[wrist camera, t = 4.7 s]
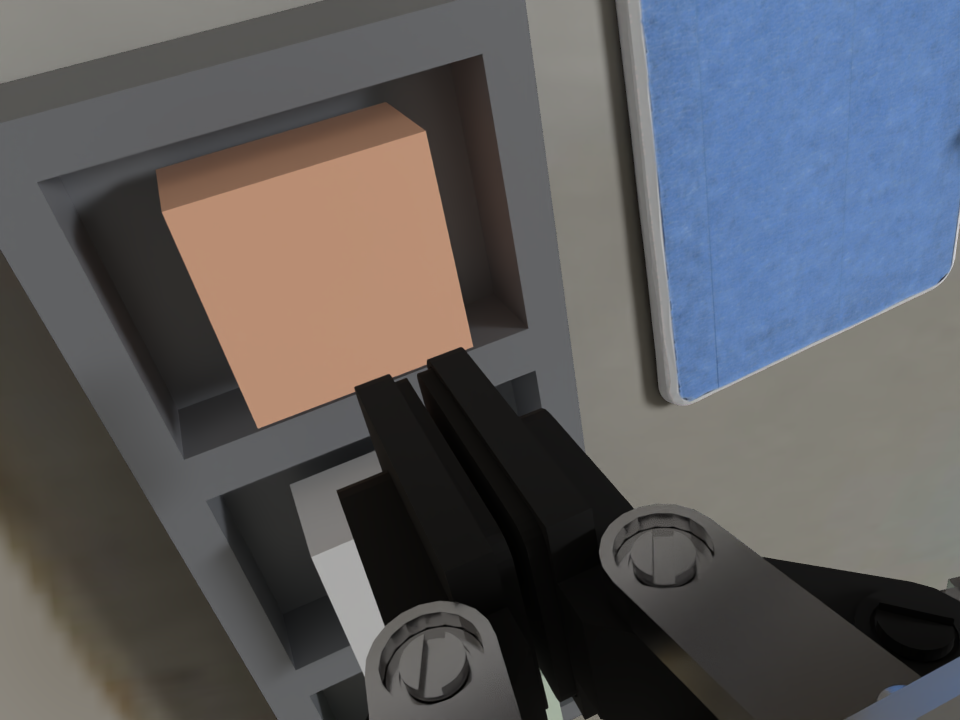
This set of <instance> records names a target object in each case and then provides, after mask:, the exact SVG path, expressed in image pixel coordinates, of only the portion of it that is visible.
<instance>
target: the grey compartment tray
mask: <svg viewBox="0 0 960 720" xmlns="http://www.w3.org/2000/svg"><path fill="white" fill-rule="evenodd" d="M384 102H387V103H388V104H390V105H391V106H392V107H394V108H395V109H396V110H398V111H399V112H401V113H402V114H403V115H405V116H406V117H407V118H409V119H410V120H412V121H413V122H414V123H416V124H417V125H418V126H420V127H421V128H423V129H424V130H425V131H426V134H427V139H428V143H429V148H430V152H431V157H432V161H433V166H434V171H435V175H436V180H437V184H438V189H439V193H440V198H441V202H442V207H443V211H444V216H445V221H446V225H447V230H448V234H449V239H450V243H451V248H452V252H453V257H454V261H455V266H456V271H457V275H458V280H459V284H460V289H461V293H462V298H463V302H464V307H465V311H466V316H467V321H468V325H469V330H470V334H471V339H472V343H473V347H471V348H469V349H466V352H467V353H468V354H469V355H470V357H471V358H472V359H473V360H474V362H475V363H476V364H477V365H478V367H479V368H480V369H481V370H482V372H483V373H484V374H485V375H486V377H487V378H488V379H489V380H490V382H491V383H492V384H493V385H494V387H495V388H496V389H497V390H498V392H499V393H500V394H501V395H502V396H503V398H504V399H505V400H506V401H507V403H508V404H509V405H510V406H511V408H512V409H513V410H514V411H515V413H516V414H517V415H518V416H519V417H520V416H522V415H525V414H527V413H530V412H532V411H535V410H537V409H540V408H543V409H546V410H547V411H548V412H549V413H550V414H551V415H552V416H553V417H554V418H555V419H556V420H557V421H558V423H559V424H560V425H561V426H562V427H563V428H564V429H565V431H566V432H567V433H568V434H569V435H570V436H571V437H572V439H573V440H574V441H575V442H576V443H577V444H578V445H579V447H580V448H581V449H582V450H583V451H584V452H585V447H584V440H583V432H582V425H581V417H580V409H579V402H578V394H577V387H576V379H575V372H574V364H573V357H572V349H571V342H570V334H569V327H568V319H567V312H566V304H565V296H564V289H563V281H562V274H561V266H560V259H559V251H558V244H557V236H556V229H555V221H554V214H553V206H552V198H551V191H550V183H549V176H548V168H547V161H546V153H545V146H544V138H543V131H542V123H541V116H540V108H539V100H538V93H537V85H536V78H535V70H534V63H533V55H532V48H531V40H530V33H529V25H528V18H527V10H526V3H525V0H324V1H320V2H316V3H312V4H308V5H304V6H301V7H297V8H293V9H289V10H285V11H281V12H277V13H273V14H270V15H266V16H262V17H258V18H254V19H250V20H246V21H242V22H239V23H235V24H231V25H227V26H223V27H219V28H215V29H211V30H208V31H204V32H200V33H196V34H192V35H188V36H184V37H181V38H177V39H173V40H169V41H165V42H161V43H157V44H153V45H150V46H146V47H142V48H138V49H134V50H130V51H126V52H122V53H119V54H115V55H111V56H107V57H103V58H99V59H95V60H91V61H88V62H84V63H80V64H76V65H72V66H68V67H64V68H60V69H57V70H53V71H49V72H45V73H41V74H37V75H33V76H30V77H26V78H22V79H18V80H14V81H10V82H6V83H2V84H0V250H1V251H2V253H3V255H4V256H5V258H6V260H7V262H8V263H9V265H10V267H11V268H12V270H13V272H14V273H15V275H16V277H17V278H18V280H19V282H20V284H21V285H22V287H23V289H24V290H25V292H26V294H27V295H28V297H29V299H30V301H31V302H32V304H33V306H34V307H35V309H36V311H37V312H38V314H39V316H40V317H41V319H42V321H43V323H44V324H45V326H46V328H47V329H48V331H49V333H50V334H51V336H52V338H53V340H54V341H55V343H56V345H57V346H58V348H59V350H60V351H61V353H62V355H63V356H64V358H65V360H66V362H67V363H68V365H69V367H70V368H71V370H72V372H73V373H74V375H75V377H76V379H77V380H78V382H79V384H80V385H81V387H82V389H83V390H84V392H85V394H86V395H87V397H88V399H89V401H90V402H91V404H92V406H93V407H94V409H95V411H96V412H97V414H98V416H99V418H100V419H101V421H102V423H103V424H104V426H105V428H106V429H107V431H108V433H109V434H110V436H111V438H112V440H113V441H114V443H115V445H116V446H117V448H118V450H119V451H120V453H121V455H122V456H123V458H124V460H125V462H126V463H127V465H128V467H129V468H130V470H131V472H132V473H133V475H134V477H135V479H136V480H137V482H138V484H139V485H140V487H141V489H142V490H143V492H144V494H145V495H146V497H147V499H148V501H149V502H150V504H151V506H152V507H153V509H154V511H155V512H156V514H157V516H158V518H159V519H160V521H161V523H162V524H163V526H164V528H165V529H166V531H167V533H168V534H169V536H170V538H171V540H172V541H173V543H174V545H175V546H176V548H177V550H178V551H179V553H180V555H181V557H182V558H183V560H184V562H185V563H186V565H187V567H188V568H189V570H190V572H191V573H192V575H193V577H194V579H195V580H196V582H197V584H198V585H199V587H200V589H201V590H202V592H203V594H204V596H205V597H206V599H207V601H208V602H209V604H210V606H211V607H212V609H213V611H214V612H215V614H216V616H217V618H218V619H219V621H220V623H221V624H222V626H223V628H224V629H225V631H226V633H227V635H228V636H229V638H230V640H231V641H232V643H233V645H234V646H235V648H236V650H237V651H238V653H239V655H240V657H241V658H242V660H243V662H244V663H245V665H246V667H247V668H248V670H249V672H250V674H251V675H252V677H253V679H254V680H255V682H256V684H257V685H258V687H259V689H260V690H261V692H262V694H263V696H264V697H265V699H266V701H267V702H268V704H269V706H270V707H271V709H272V711H273V712H274V714H275V716H276V718H277V719H278V720H366V718H367V716H368V714H369V711H368V702H367V694H366V685H365V676H364V674H363V672H362V670H361V667H360V665H359V663H358V661H357V659H356V656H355V654H354V652H353V650H352V647H351V645H350V643H349V641H348V638H347V636H346V634H345V632H344V630H343V627H342V625H341V623H340V621H339V618H338V616H337V614H336V612H335V609H334V607H333V605H332V603H331V601H330V598H329V596H328V594H327V592H326V589H325V587H324V585H323V583H322V580H321V578H320V576H319V574H318V572H317V569H316V567H315V565H314V563H313V560H312V558H311V555H310V552H309V549H308V545H307V542H306V538H305V535H304V532H303V528H302V525H301V522H300V518H299V515H298V512H297V508H296V505H295V501H294V498H293V495H292V491H291V488H290V484H293V483H295V482H298V481H300V480H303V479H305V478H308V477H310V476H313V475H315V474H318V473H320V472H323V471H325V470H328V469H330V468H333V467H335V466H338V465H340V464H343V463H345V462H348V461H350V460H353V459H355V458H358V457H360V456H363V455H365V454H368V453H370V452H373V451H375V449H374V446H373V443H372V440H371V437H370V434H369V431H368V428H367V425H366V422H365V420H364V417H363V414H362V411H361V408H360V405H359V402H358V399H357V396H356V393H355V392H353V393H351V394H348V395H345V396H343V397H340V398H337V399H335V400H332V401H330V402H327V403H324V404H322V405H319V406H316V407H314V408H311V409H308V410H306V411H303V412H301V413H298V414H295V415H293V416H290V417H287V418H285V419H282V420H280V421H277V422H274V423H272V424H269V425H266V426H264V427H261V428H259V429H258V428H257V426H256V423H255V421H254V419H253V417H252V414H251V412H250V410H249V408H248V405H247V403H246V401H245V399H244V396H243V394H242V392H241V390H240V387H239V385H238V383H237V381H236V378H235V376H234V374H233V371H232V369H231V367H230V365H229V362H228V360H227V358H226V356H225V353H224V351H223V349H222V347H221V344H220V342H219V340H218V338H217V335H216V333H215V331H214V329H213V326H212V324H211V322H210V320H209V317H208V315H207V313H206V311H205V308H204V306H203V304H202V302H201V299H200V297H199V295H198V293H197V290H196V288H195V286H194V284H193V281H192V279H191V277H190V275H189V272H188V270H187V268H186V266H185V263H184V261H183V259H182V257H181V254H180V252H179V250H178V248H177V245H176V243H175V241H174V239H173V236H172V234H171V232H170V230H169V227H168V225H167V223H166V221H165V218H164V216H163V214H162V211H161V204H160V197H159V190H158V183H157V176H156V169H160V168H163V167H166V166H170V165H173V164H177V163H180V162H183V161H187V160H190V159H194V158H197V157H200V156H204V155H207V154H211V153H214V152H217V151H221V150H224V149H227V148H231V147H234V146H238V145H241V144H244V143H248V142H251V141H255V140H258V139H261V138H265V137H268V136H272V135H275V134H278V133H282V132H285V131H289V130H292V129H295V128H299V127H302V126H306V125H309V124H312V123H316V122H319V121H323V120H326V119H329V118H333V117H336V116H340V115H343V114H346V113H350V112H353V111H357V110H360V109H363V108H367V107H370V106H374V105H377V104H380V103H384ZM426 370H428V368H427V365H424V366H422V367H419V368H416V369H414V370H411V371H408V372H406V373H403V374H401V375H398V376H395V377H393V380H394V382H396V381H399V380H402V379H404V378H407V379H408V380H409V382H410V383H411V385H412V387H413V388H414V390H415V391H416V393H417V395H418V396H419V398H420V400H421V401H422V403H423V404H424V401H423V397H422V394H421V390H420V387H419V383H418V379H417V374H418V373H420V372H423V371H426ZM424 406H425V404H424ZM559 703H560V708H561V712H562V717H563V720H572V719H574V718H576V717H578V716H580V715H582V714H581V712H580V710H579V708H578V707H577V705H576V703H575V701H574V700H573V698H572V697H570V698H568V699H566V700H564V701H562V702H559Z"/></svg>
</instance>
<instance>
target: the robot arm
mask: <svg viewBox="0 0 960 720" xmlns="http://www.w3.org/2000/svg"><path fill="white" fill-rule="evenodd" d="M427 368H428V370H426V371H423V372H420V373H418V374H417V379H418V383H419V387H420V390H421V394H422V397H423V401H424V404H425V406H424V404H423V403H422V401H421V400H420V398H419V396H418V395H417V393H416V391H415V390H414V388H413V387H412V385H411V383H410V382H409V380H408V379H407V378H404V379H402V380H399V381H396V382H394V380H393V378H392V376H391V375H390V374H387V375H384V376H382V377H379V378H376V379H374V380H371V381H368V382H366V383H363V384H360V385H358V386H355V387H354V389H355V393H356V396H357V399H358V402H359V405H360V408H361V411H362V414H363V417H364V420H365V422H366V425H367V428H368V431H369V434H370V437H371V440H372V443H373V446H374V449H375V452H376V455H377V458H378V460H379V463H380V466H381V469H382V472H380V473H378V474H375V475H373V476H370V477H368V478H366V479H363V480H361V481H358V482H356V483H353V484H351V485H348V486H346V487H343V488H341V489H338V490H336V491H337V494H338V497H339V500H340V503H341V506H342V509H343V511H344V514H345V517H346V520H347V523H348V525H349V528H350V531H351V534H352V537H353V539H354V542H355V545H356V548H357V550H358V553H359V556H360V559H361V562H362V564H363V567H364V570H365V573H366V576H367V578H368V581H369V584H370V587H371V590H372V592H373V595H374V598H375V601H376V604H377V606H378V609H379V612H380V615H381V618H382V620H383V623H384V626H385V627H384V628H383V629H382V631H381V632H380V633H379V635H378V636H377V637H376V638H375V640H374V641H373V643H372V646H371V648H370V650H369V653H368V655H367V658H366V665H365V685H366V694H367V702H368V711H369V714H368V716H367V718H366V720H548V718H547V713H546V709H548V708H549V707H548V702H547V697H546V693H545V689H544V685H543V681H542V677H541V673H540V670H541V672H542V674H543V675H544V677H545V679H546V681H547V683H548V684H549V686H550V688H551V690H552V692H553V693H554V695H555V697H556V698H557V700H558V701H559V702H562V701H564V700H566V699H568V698H570V697H572V698H573V700H574V701H575V703H576V705H577V707H578V708H579V710H580V712H581V714H582V715H583V717H584V719H585V720H586V719H588V718H590V717H592V716H594V715H596V714H598V715H599V717H600V719H603V720H960V576H959V577H955V578H951V579H948V584H947V589H945V590H940V591H939V590H937V589H935V588H932V587H928V586H925V585H921V584H917V583H914V582H909V581H903V580H897V579H891V578H885V577H879V576H873V575H867V574H861V573H855V572H849V571H843V570H837V569H831V568H825V567H819V566H813V565H807V564H801V563H795V562H789V561H783V560H777V559H771V558H765V557H761V556H760V555H758V554H757V553H756V552H754V551H753V550H752V549H750V548H749V547H748V546H746V545H745V544H744V543H742V542H741V541H740V540H738V539H737V538H736V537H734V536H733V535H732V534H730V533H729V532H728V531H726V530H725V529H724V528H722V527H721V526H720V525H718V524H717V523H716V522H714V521H713V520H712V519H710V518H709V517H707V516H705V515H703V514H702V513H700V512H698V511H696V510H694V509H691V508H687V507H683V506H679V505H674V504H653V505H648V506H642V507H638V508H635V509H634V508H633V507H632V506H631V505H630V504H629V502H628V501H627V500H626V499H625V498H624V497H623V496H622V494H621V493H620V492H619V491H618V490H617V489H616V488H615V486H614V485H613V484H612V483H611V482H610V481H609V480H608V478H607V477H606V476H605V475H604V474H603V473H602V472H601V471H600V469H599V468H598V467H597V466H596V465H595V464H594V463H593V461H592V460H591V459H590V458H589V457H588V456H587V455H586V453H585V452H584V451H583V450H582V449H581V448H580V447H579V445H578V444H577V443H576V442H575V441H574V440H573V439H572V437H571V436H570V435H569V434H568V433H567V432H566V431H565V429H564V428H563V427H562V426H561V425H560V424H559V423H558V421H557V420H556V419H555V418H554V417H553V416H552V415H551V414H550V413H549V412H548V411H547V410H546V409H543V408H540V409H537V410H535V411H532V412H530V413H527V414H525V415H522V416H520V417H519V416H518V415H517V414H516V413H515V411H514V410H513V409H512V408H511V406H510V405H509V404H508V403H507V401H506V400H505V399H504V398H503V396H502V395H501V394H500V393H499V392H498V390H497V389H496V388H495V387H494V385H493V384H492V383H491V382H490V380H489V379H488V378H487V377H486V375H485V374H484V373H483V372H482V370H481V369H480V368H479V367H478V365H477V364H476V363H475V362H474V360H473V359H472V358H471V357H470V355H469V354H468V353H467V352H466V350H465V349H464V348H463V347H459V348H457V349H454V350H451V351H449V352H446V353H443V354H441V355H438V356H435V357H433V358H430V359H427ZM539 668H540V669H539Z"/></svg>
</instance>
